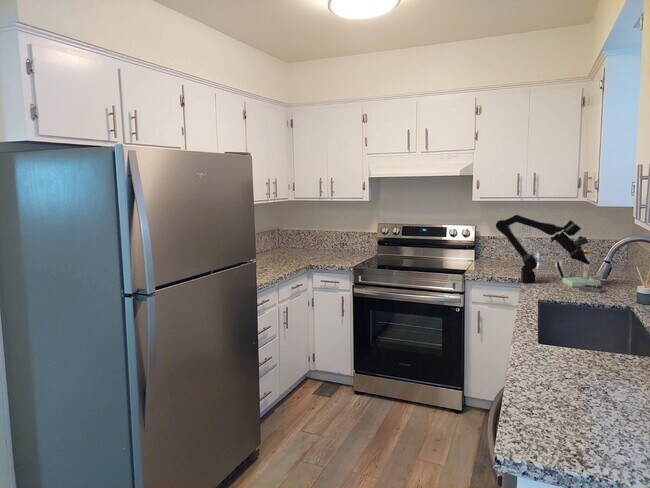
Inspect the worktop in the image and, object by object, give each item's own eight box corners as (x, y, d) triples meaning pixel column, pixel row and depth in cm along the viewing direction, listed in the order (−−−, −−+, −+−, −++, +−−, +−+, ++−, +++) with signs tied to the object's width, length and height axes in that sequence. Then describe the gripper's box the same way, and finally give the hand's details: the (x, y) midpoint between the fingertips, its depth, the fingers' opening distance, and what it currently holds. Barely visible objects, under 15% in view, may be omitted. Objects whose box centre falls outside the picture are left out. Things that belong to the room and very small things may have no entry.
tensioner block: (579, 290, 230) (579, 284, 230) (585, 288, 234) (585, 282, 234) (599, 292, 222) (599, 286, 222) (605, 290, 227) (605, 284, 226)
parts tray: (572, 287, 238) (572, 281, 237) (562, 283, 250) (562, 277, 249) (600, 286, 236) (600, 281, 236) (589, 282, 248) (589, 277, 248)
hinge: (569, 278, 261) (562, 262, 262) (560, 281, 264) (554, 264, 264) (570, 274, 276) (564, 258, 276) (561, 276, 278) (555, 260, 279)
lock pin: (586, 279, 239) (586, 250, 237) (579, 278, 243) (580, 250, 241) (591, 278, 240) (592, 250, 239) (585, 277, 244) (586, 249, 243)
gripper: (578, 233, 233) (603, 255, 229) (578, 230, 249) (601, 250, 245) (560, 248, 237) (584, 270, 233) (561, 244, 254) (583, 264, 249)
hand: (589, 263), depth 240 cm, fingers closed on lock pin, 3 cm apart
